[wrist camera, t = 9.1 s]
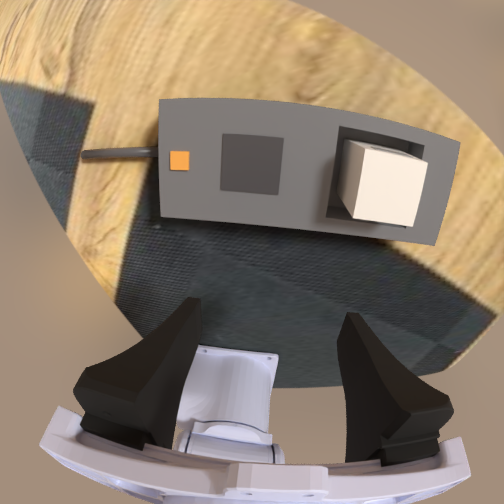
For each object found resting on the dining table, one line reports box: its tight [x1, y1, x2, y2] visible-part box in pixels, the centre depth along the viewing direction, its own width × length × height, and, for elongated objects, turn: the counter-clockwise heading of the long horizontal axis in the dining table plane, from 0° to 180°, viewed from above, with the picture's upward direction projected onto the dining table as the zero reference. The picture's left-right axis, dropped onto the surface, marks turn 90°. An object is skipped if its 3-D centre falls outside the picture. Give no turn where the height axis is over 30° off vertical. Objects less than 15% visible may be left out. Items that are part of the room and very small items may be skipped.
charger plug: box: [337, 138, 428, 227], centre depth 17 cm, size 4×4×5 cm
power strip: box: [81, 98, 460, 246], centre depth 18 cm, size 29×8×4 cm, turn 86°
